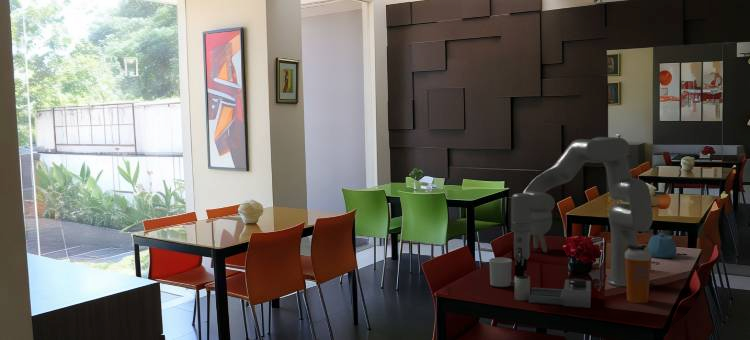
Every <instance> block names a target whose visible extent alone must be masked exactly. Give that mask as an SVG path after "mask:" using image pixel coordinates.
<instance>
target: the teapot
mask: <svg viewBox="0 0 750 340" xmlns="http://www.w3.org/2000/svg"><path fill="white" fill-rule="evenodd" d="M646 246H647V247H649V249H650V253H651V258H652V257H653V258H661V259H664V258H665V259H671V258H672V259H673V258H675V257H676V255H677V252H678V251H677V246H676V243H675V240H674V239H673V237H672V236H670V235H666V234H665V233H662V232H660V233H658V235H652V236H651V237H650V239H649V241H648V243H647V245H646Z"/></svg>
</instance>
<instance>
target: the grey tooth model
mask: <svg viewBox="0 0 750 340" xmlns="http://www.w3.org/2000/svg"><path fill="white" fill-rule="evenodd" d="M552 225H553V214H552V210H551V211H550V212H548V213H532V232H529V235H530V240H531V238H532V239H533V240H532V241H533V248H534V249H538V248H539V243H540V246H541V250H542V252H543V253H547V252H548V248H547V243H546V238H545V234H546V233H547V232H549V231H550V230H551V228H552Z"/></svg>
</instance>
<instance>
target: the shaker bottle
mask: <svg viewBox="0 0 750 340" xmlns="http://www.w3.org/2000/svg"><path fill="white" fill-rule="evenodd" d="M647 246H648V245H645V244H642V245H637V246H636V245H628V246H627V247H628V250H627V251H626V252H625V260H626V284H627V287H626V300H627V302H630V303H634V304H646V303H648V302H649V293H650V292H649V291H650V279H651V278H650V277H651V276H650V274H651V262H652V261H651V260H652V256H651V253H650V249H649V247H647Z"/></svg>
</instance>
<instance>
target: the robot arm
mask: <svg viewBox="0 0 750 340" xmlns="http://www.w3.org/2000/svg"><path fill="white" fill-rule="evenodd" d="M629 153H630V145H629V142H628V141H627V140H626V139H625V138H623V137H615V136H614V137H612V136H611V137H610V136H596V137H592V138H591V139H588V138H587V139H585V138H584V139H583V138H579V139H575V140H573V141H572V142H571V143H570V144H569V145H568V146H567V147H566V148H565V150H564V151H563V152H562V154H561V155H560V156H559V158H558V159H557V160H556V161H555V163H554V164H553V165H552V166H551V167H549V168H548V169H546V170H544V172H542V173H541V174H539V175H537V176H536V177H535V178H533V179H532V180H531V182H530V183H529V184H528V185H527V187H526V188H525V189H524V190H523V192H518V193H513V194H512V195H511V201H510V202H511V204H510V205H511V206H510V207H511V208H510V209H511V210H510V213H511V214H510V217H511V218H510V231H511V232H513V258H514V259H515V263H514V264H515V265H514V277H515V276H521V277H523V276H524V274H525V271H527V270H528V259H529V257H530V255H531V254H530V253H531V249H530V248H531V247H530V246H531V245H530V243H531V239H530V235H529V232H532V213H548V212H550V211H551V212H552V211H553V209H554V208H555V206H556V201H555V198H554V197H553V196H552V195H551V194H549V193H546V192H548V191H549V190H551V189H553V188H555V187H558V186H561V185H564V184H566V183H569V182H571V181H572V180H573V179H574V178H575V176H576V175H577V174H578V172H579V171H580V169H581V168H582V167H583V166H584V164H585V163H592V164H595V163H596V164H597V163H600V164H601V163H602V164H603V165H604V168H605V172H606V176H607V184H608V191H609V196H610V197H611V199H613V200H614V201H617V202H619V203H615V204H614V205H612V206H611V207H610V208H609V211H608V222H609V228H610V276H609V277H606V283H607V284H610V285H613V286H617V287H626V288H627V284H626V260H625V252H626V251H627V250H628V247H627V246H628V245H636V246H638V240H637V239H638V238H637V234H636V232H645V231H648V230H649V229H650V228H651V227H652V224H653V221H654V220H653V219H654V216H653V215H654V212H653V207H652V206H653V205H652V198H651V197H652V196H651V191H650V187H649V186H648V184H647V182H645V181H644V180H642V179H640V178H634V177H632V175H631V169H630V165H629V162H628V159H627V156H629ZM620 202H621V203H620ZM622 202H623V203H622Z"/></svg>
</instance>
